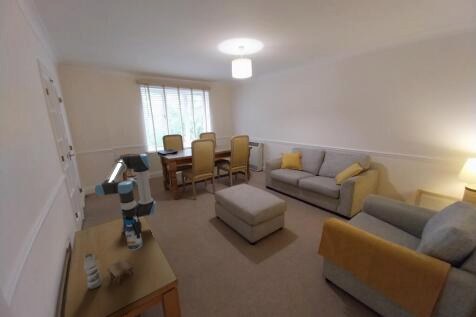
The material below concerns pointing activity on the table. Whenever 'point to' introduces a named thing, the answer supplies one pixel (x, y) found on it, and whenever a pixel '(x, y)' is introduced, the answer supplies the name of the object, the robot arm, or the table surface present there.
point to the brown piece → (120, 269)
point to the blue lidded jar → (131, 235)
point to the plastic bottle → (92, 271)
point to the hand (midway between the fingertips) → (134, 240)
